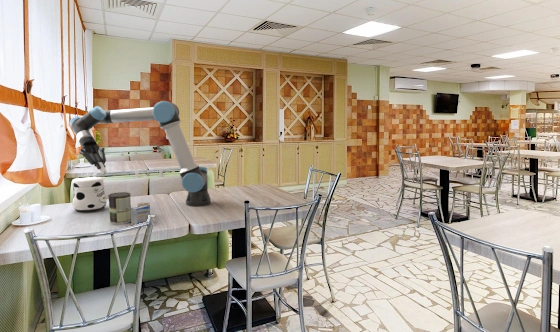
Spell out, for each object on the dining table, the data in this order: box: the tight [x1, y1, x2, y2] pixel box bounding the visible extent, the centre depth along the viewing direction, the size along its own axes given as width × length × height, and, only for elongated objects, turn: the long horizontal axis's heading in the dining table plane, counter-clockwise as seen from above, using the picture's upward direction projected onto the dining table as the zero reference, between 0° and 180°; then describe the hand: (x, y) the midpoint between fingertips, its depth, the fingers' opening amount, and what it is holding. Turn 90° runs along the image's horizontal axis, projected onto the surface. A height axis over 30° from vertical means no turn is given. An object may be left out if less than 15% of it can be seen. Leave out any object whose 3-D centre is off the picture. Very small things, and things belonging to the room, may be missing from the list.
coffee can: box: [107, 191, 132, 225], centre depth 176 cm, size 10×10×14 cm
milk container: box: [72, 176, 108, 212], centre depth 200 cm, size 17×17×18 cm
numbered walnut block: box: [137, 202, 151, 208], centre depth 185 cm, size 6×6×7 cm
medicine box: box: [130, 205, 151, 226], centre depth 172 cm, size 8×4×9 cm, turn 148°
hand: (104, 173), depth 181 cm, fingers closed
